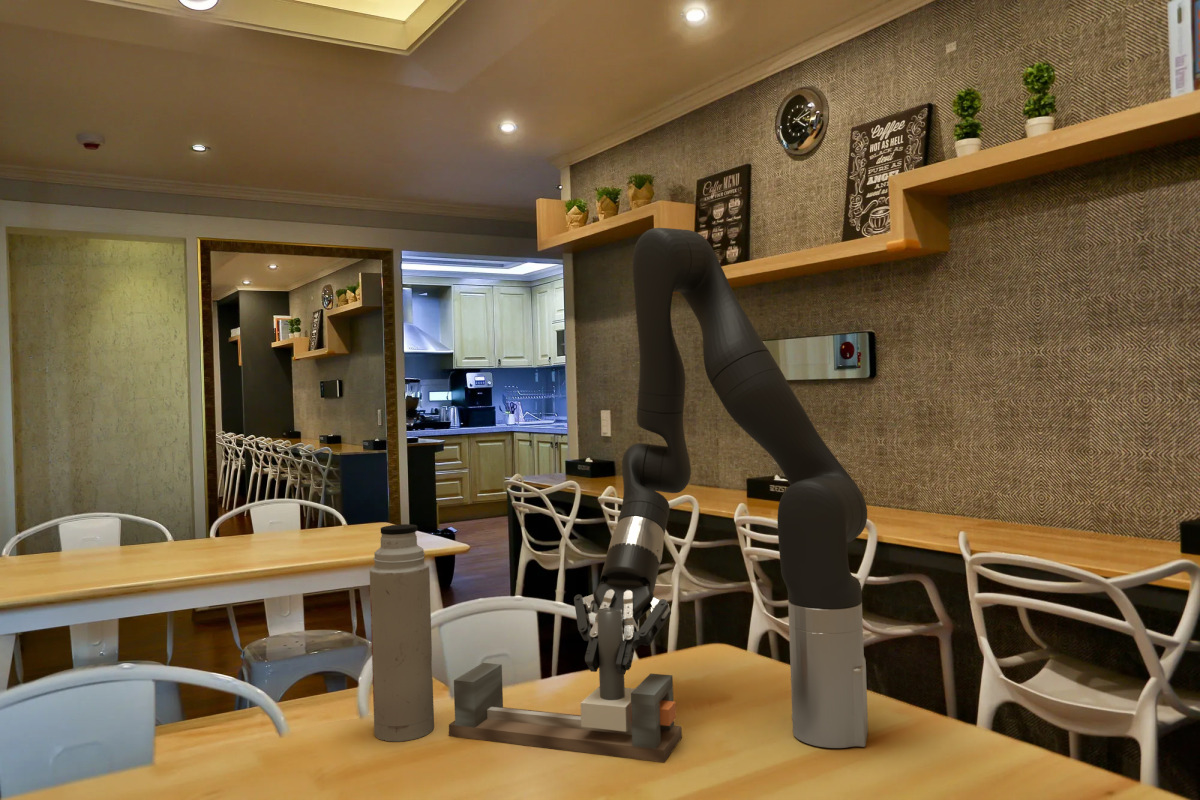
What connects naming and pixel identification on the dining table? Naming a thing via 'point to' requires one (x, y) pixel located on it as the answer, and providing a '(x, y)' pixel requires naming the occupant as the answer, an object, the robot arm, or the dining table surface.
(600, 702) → the carriage
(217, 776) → the dining table surface
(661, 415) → the robot arm
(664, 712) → the reset pin
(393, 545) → the thermos bottle
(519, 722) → the rail board
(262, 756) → the dining table surface
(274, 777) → the dining table surface
